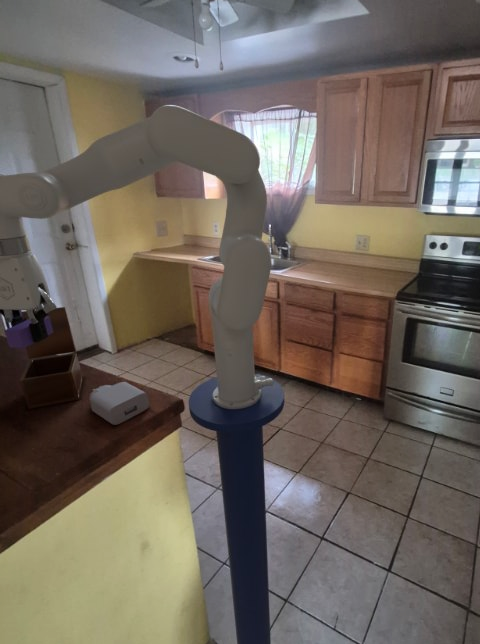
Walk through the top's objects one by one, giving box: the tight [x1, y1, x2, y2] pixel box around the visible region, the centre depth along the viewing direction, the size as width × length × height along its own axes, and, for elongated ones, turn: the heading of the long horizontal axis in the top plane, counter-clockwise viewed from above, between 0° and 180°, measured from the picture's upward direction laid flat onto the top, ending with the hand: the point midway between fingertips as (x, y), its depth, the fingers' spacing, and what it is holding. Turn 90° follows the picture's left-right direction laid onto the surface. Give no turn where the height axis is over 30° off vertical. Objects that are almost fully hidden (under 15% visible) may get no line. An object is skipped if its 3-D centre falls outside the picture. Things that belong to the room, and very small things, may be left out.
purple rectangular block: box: [3, 317, 53, 349], centre depth 74 cm, size 8×3×4 cm, turn 175°
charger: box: [89, 381, 150, 426], centre depth 89 cm, size 5×9×15 cm
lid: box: [21, 306, 77, 360], centre depth 96 cm, size 12×11×5 cm
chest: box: [19, 352, 84, 410], centre depth 94 cm, size 12×11×8 cm
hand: (32, 338), depth 75 cm, fingers closed on purple rectangular block, 3 cm apart
